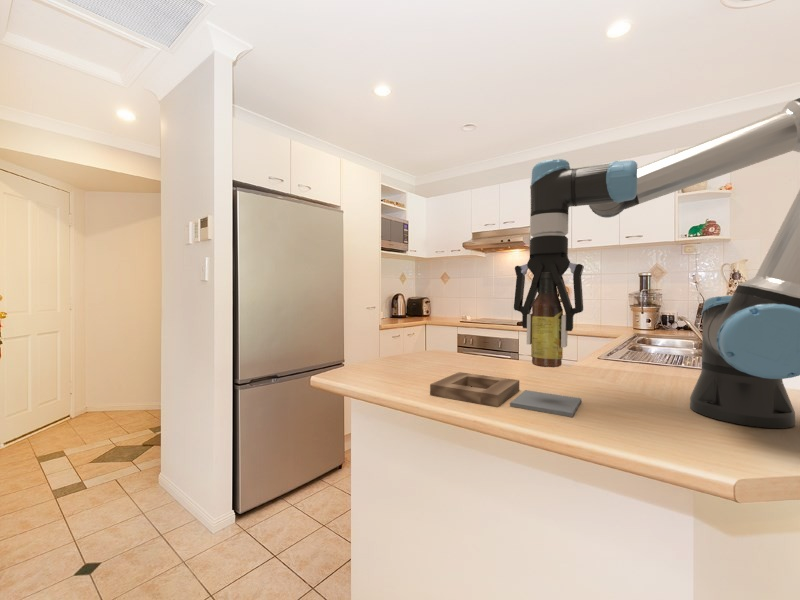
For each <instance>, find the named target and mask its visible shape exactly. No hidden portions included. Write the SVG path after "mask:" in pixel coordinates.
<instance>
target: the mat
mask: <svg viewBox="0 0 800 600" xmlns="http://www.w3.org/2000/svg"><path fill="white" fill-rule="evenodd" d="M581 404H582V398H580V397H576V396H569V395H568V396H567V395H562V394H554V393H548V392H541V391H534V390H527V389H525V390H523V391H522V392H521V393H520V394H518V395H517V396H516V397H515V398H514V399H513V400H511V401H510V403H509V407H511V408H516V409H518V408H519V409H524V410H528V411H529V410H530V411H534V412H541V413H546V414H553V415H558V416H564V417H570V418H573V417H574V416H575V414H576V411H577V410H578V408H580V405H581Z"/></svg>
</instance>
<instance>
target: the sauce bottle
mask: <svg viewBox="0 0 800 600" xmlns="http://www.w3.org/2000/svg"><path fill="white" fill-rule="evenodd" d="M552 279H553V276H552V273H551V272H544V273H541V275H540V278H539V283H538V291H537V294H536V297H535V300H534V302H533V305H532V308H531V314H532V330H531V344H530V345H531V351H530V352H531V354H530V355H531V356H530V357H531V358H532V359H531V363H532V365H534V366H535V367H536V366H537V367H540V368H559V367H562V364H563V363H562V359H563V353H564V352H563V351H564V350H563V349H564V347H561V323H562V315H564V308H563V305H562V302H561V299H560V296H559V293H558V289H557V286H556V284H555V281H554V280H552Z"/></svg>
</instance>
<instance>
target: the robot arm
mask: <svg viewBox="0 0 800 600" xmlns="http://www.w3.org/2000/svg"><path fill="white" fill-rule="evenodd" d="M792 151H793V152H797V153H800V97H798V98H797V99H794V100H790V101H789V102H787V103H786V104H785V105H784V107H783V108H782V110H781V111H778V112H777V113H773V114H771V115H769V116H766V117H764V118H761V119H758V120H756V121H753V122H750V123H748V124H746V125H743V126H740V127H738V128H736V129H733V130H731V131H728V132H725V133H723V134H720V135H718V136H715V137H713V138H710V139H707V140H705V141H702V142H699V143H698V144H697V143H696V144H695V145H692V146H690V147H687V148H685V149H681V150H679V151H677V152H675V153H671V154H670V155H667V156H665V157H662V158H659V159H657V160H654V161H652V162H649V163H647V164H645V165H641V166H639V167H638V163H637V162H636V161H635V160H631V159H630V160H622V161H618V160H615V161H612V162H607V163H601V164H596V165H595V164H594V165H591V166H590V165H589V166H582V167H577V168H571V167H570V163H569V161H568V160H566V159H561V158H557V159H553V158H552V159H545V160H542V161H540V162H538V163H536V164H535V165H534V166H533V167H532V169H531V170H532V171H531V182H530V224H529V225H530V226H529V235H530V236H531V238H530V239H529V259H528V261H527V263H525V264H522V265H516V266H515V267H514V271H515V276H516V279H515V290H514V301H513V310H514V311H518V312H519V313H521V314H522V315H521V316H522V318H521V325H522V329H526V345H531V330H532V305H533V302H534V300H535V299H536V297H537V295H538V292H537V291H538V283H539V278H540V275H541V273H544V272H551V273H552V276H553V279H552V280H554V281H555V284H556V286H557V293H558V296H559V299H560V302H561V305H562V308H563V311H564V312H565V313H564V314H563V315H562V323H561V347H563V348H567V347H568V334H569V333H568V332H572V331H573V329H574V316H575V315H576V314H580V313H583V311H584V298H583V283H582V275H583V271H584V269H585V267H584V265H583V264H581V263H573V262H571V261H570V259H569V255H568V254H569V238H568V237H567V236H566V235H568V234H569V210H570V207H579V206H588V207H589V209H590V210H591V212H592V213H594V214H595V215H597V216H599V217H601V218H606V219H607V218H613V217H616V216H617V215H620V214H621V213H622V212H623V211H624V210H627V209H629V208H633V207H635V206H638V205H641V204H643V203H646V202H650V201H652V200H655V199H657V198H660V197H663V196H666V195H669V194H672V193H674V192H675V193H676V192H678V191H681V190H684V189H687V188H689V187H692V186H694V185H695V186H696V185H698V184H701V183H704V182H706V181H710V180H713V179H715V178H717V177H718V178H719V177H721V176H724V175H727V174H730V173H732V172H736V171H738V170H742V169H744V168H747V167H750V166H753V165H756V164H758V163H761V162H764V161H767V160H769V159H773V158H776V157H778V156H781V155H784V154H788V153H791V152H792ZM528 269H529V272H531V274H532V275H533V277H532V280H531V285H530V287H529V290H528V292H527V295H526V298H525V300H524V296H525V295H524V292H525V285H526V275H527V274H528ZM568 269H570V273H571V274H572V281H573V283H572V284H573V295H574V296H573V299H574V307H573V306H572V303H571V300H570V296H569V293H568V290H567V287H566V285H565V280H564V277H563V275H565V273H566V272H567V270H568ZM702 307H703V308H702V310H701V316H702V334H701V335H702V337H701V338H702V339H701V340H702V342H701V372H700V375H699V377H698V379H697V380H696V383H695V385H694V387H693V390H692V392H691V395H690V397H689V408H690V409H691V410H692V411H693V412H695V413H697V414H700V415H702V416H705V417H708V418H712V419H715V420H719V421H723V422H727V423H732V424H737V425H741V426H743V425H744V426H748V425H749V426H748V427H755V426H756V428H764V429H766V428H767V429H788V428H792V427H795V426H796V411H795V408H794V406H793V403H792V402H791V400H790V397H789V394H788V392H787V390H786V387H785V384H784V382H783V379H790V378H796V377H799V376H800V189H799V190H798V192H797V194H796V196H795V198H794V200H793V202H792V204H791V206H790V208H789V210H788V211H787V214H786V215H785V217H784V220H783V221H782V223H781V225H780V227H779V229H778V231H777V234H776V235H775V237H774V239H773V241H772V243H771V245H770V247H769V248H768V251H767V253H766V255H765V257H764V259H763V261H762V263H761V265H760V267H759V269H758V270H757V272H756V274H755V276H754V277H753V278H751V279H748V280H745V281H743V282H739V283H738V284H737V286H736V288H735V290H734V292H733V294H732V295H723V296H713V297H710V298H707V299H706V300H704V302H703V306H702Z"/></svg>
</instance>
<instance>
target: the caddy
mask: <svg viewBox="0 0 800 600" xmlns="http://www.w3.org/2000/svg"><path fill="white" fill-rule="evenodd" d="M471 386H472V387H471ZM519 391H520V379H513V378H506V377H498V376H491V375H484V374H476V373H469V372H461V371H460V372H459V371H458V372H455V373H454V374H451V375H449V376H446V377H444V378H441V379H439V380H436V381H435V382H432V383H430V385H429V395H430V396H434V397H439V398H445V399H451V400H457V401H462V402H467V403H472V404H478V405H485V406H489V407H495V408H498V407H499V406H501V405H502V404H503V403H505V402H506V401H507V400H509V399H510V398H511V397H513V396H514V395H515V394H516V393H518V392H519Z"/></svg>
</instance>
